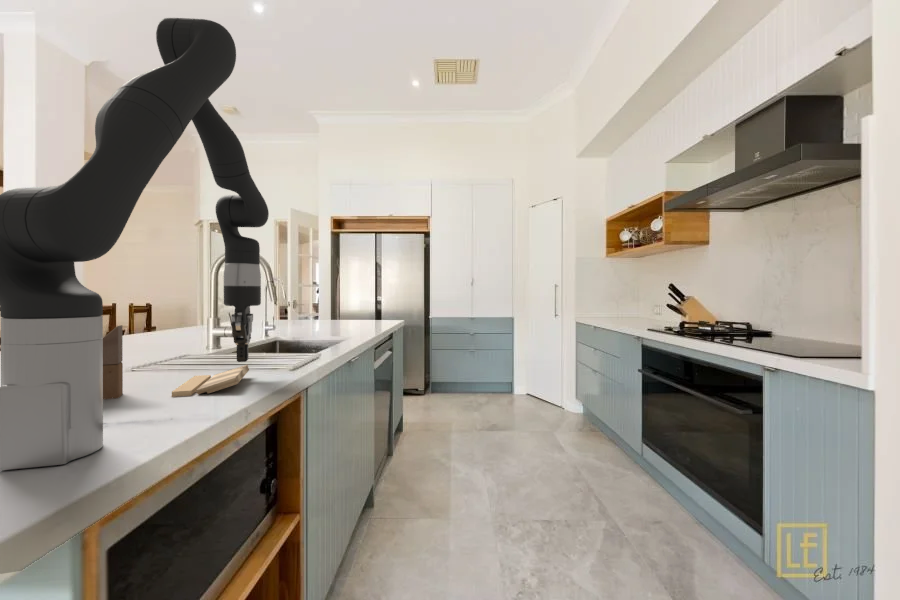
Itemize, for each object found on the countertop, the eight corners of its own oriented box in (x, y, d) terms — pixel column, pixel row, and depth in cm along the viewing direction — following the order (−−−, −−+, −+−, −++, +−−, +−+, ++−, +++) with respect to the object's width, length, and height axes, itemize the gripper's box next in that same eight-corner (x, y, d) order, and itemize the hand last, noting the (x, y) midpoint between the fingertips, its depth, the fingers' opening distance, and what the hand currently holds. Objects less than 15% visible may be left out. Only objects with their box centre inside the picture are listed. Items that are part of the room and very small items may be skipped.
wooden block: (118, 402, 77) (118, 305, 77) (40, 410, 72) (39, 305, 72) (123, 398, 80) (122, 304, 80) (48, 405, 75) (48, 305, 75)
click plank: (237, 384, 82) (235, 377, 81) (198, 396, 79) (196, 390, 79) (249, 369, 97) (247, 364, 97) (216, 380, 95) (214, 374, 95)
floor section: (239, 397, 81) (239, 388, 81) (170, 401, 78) (170, 392, 78) (251, 380, 97) (251, 372, 97) (195, 383, 94) (195, 375, 94)
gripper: (257, 284, 89) (257, 365, 89) (264, 285, 101) (264, 356, 102) (217, 283, 86) (217, 367, 87) (229, 284, 99) (229, 357, 99)
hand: (242, 361), depth 94 cm, fingers closed
